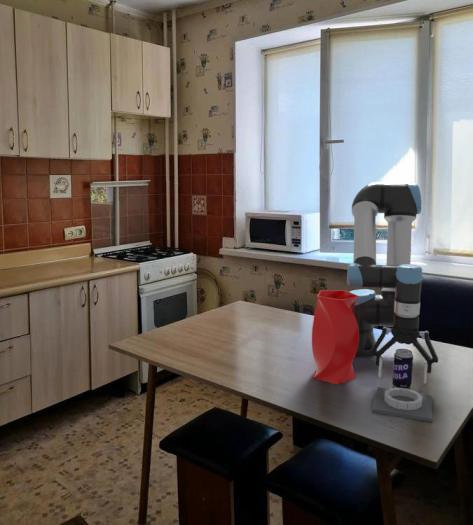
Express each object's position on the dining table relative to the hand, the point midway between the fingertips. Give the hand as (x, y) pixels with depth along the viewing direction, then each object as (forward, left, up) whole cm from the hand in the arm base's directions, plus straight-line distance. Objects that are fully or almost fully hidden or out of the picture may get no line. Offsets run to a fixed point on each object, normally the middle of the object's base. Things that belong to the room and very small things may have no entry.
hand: (402, 379), depth 161 cm
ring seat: (+1, -13, -3) cm, 13 cm away
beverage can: (0, 0, -3) cm, 3 cm away
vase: (-21, +2, -3) cm, 22 cm away
